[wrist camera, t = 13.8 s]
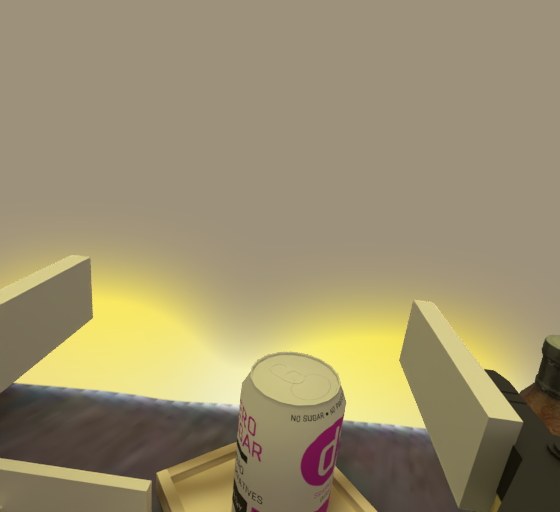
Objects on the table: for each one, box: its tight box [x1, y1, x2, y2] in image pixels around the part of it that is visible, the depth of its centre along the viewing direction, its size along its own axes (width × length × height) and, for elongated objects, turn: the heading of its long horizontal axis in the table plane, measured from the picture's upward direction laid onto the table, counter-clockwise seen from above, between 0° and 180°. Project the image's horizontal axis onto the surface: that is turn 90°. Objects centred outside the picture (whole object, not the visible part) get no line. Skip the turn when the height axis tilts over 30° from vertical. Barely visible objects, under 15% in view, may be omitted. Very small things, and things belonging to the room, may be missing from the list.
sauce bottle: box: [491, 335, 560, 512], centre depth 34 cm, size 6×6×20 cm
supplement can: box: [231, 352, 346, 512], centre depth 31 cm, size 8×8×15 cm
